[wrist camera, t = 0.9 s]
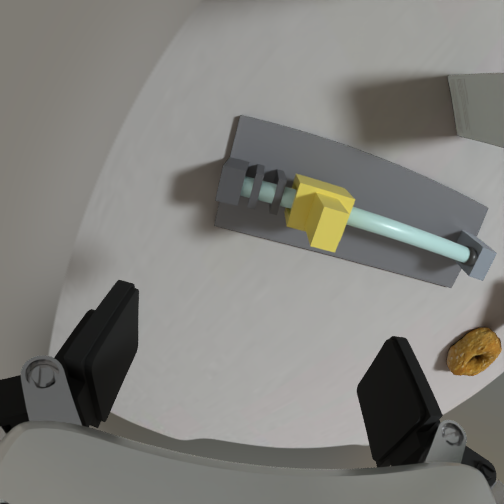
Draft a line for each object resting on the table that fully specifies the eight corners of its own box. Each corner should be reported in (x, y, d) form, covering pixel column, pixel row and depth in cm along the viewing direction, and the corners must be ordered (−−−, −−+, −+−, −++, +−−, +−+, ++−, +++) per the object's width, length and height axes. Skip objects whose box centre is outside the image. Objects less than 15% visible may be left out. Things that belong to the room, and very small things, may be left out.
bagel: (456, 327, 39) (469, 347, 35) (500, 320, 39) (514, 337, 34) (435, 370, 44) (445, 390, 39) (479, 361, 43) (490, 379, 39)
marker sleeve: (295, 173, 28) (306, 195, 21) (344, 188, 29) (369, 215, 22) (284, 211, 30) (289, 246, 23) (331, 225, 30) (350, 261, 23)
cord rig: (241, 115, 29) (235, 115, 23) (485, 206, 31) (511, 222, 26) (215, 223, 34) (205, 244, 29) (449, 285, 36) (468, 309, 31)
